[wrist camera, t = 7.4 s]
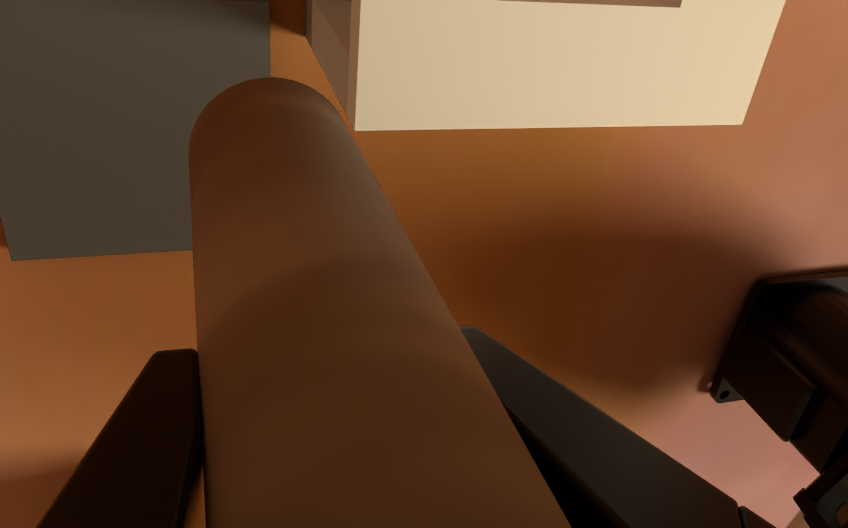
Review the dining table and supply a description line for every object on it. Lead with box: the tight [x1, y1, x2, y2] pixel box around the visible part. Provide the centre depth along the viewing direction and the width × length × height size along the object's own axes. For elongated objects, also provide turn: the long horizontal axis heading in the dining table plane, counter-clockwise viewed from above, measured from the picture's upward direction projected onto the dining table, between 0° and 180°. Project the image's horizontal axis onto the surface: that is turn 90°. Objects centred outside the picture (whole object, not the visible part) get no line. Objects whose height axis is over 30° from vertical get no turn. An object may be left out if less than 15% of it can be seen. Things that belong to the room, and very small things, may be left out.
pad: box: [0, 0, 271, 261], centre depth 19 cm, size 7×7×1 cm
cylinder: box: [188, 77, 571, 528], centre depth 7 cm, size 3×3×11 cm
